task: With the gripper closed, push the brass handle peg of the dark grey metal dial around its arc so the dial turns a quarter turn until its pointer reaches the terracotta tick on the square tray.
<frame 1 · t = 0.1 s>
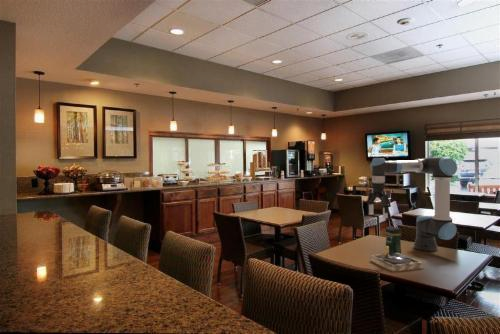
hand: (378, 216, 202), 28 cm above the table, fingers open, 13 cm apart
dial: (395, 252, 195), point 7 cm above the table, hinge at 0.0°
square tray: (395, 264, 195), on the table
coffee jar: (393, 255, 215), on the table
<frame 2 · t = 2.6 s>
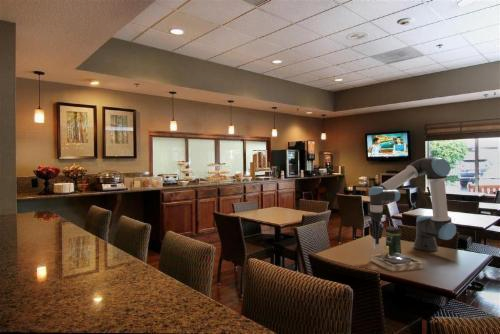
hand: (375, 248, 203), 7 cm above the table, fingers closed
nothing on the table moved.
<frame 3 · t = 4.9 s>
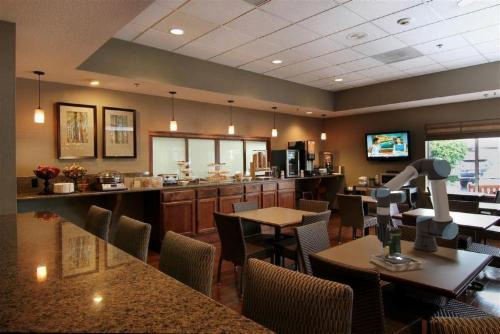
hand: (383, 252, 196), 7 cm above the table, fingers closed
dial: (395, 252, 195), point 7 cm above the table, hinge at 1.7°, touching gripper
everything else where it was.
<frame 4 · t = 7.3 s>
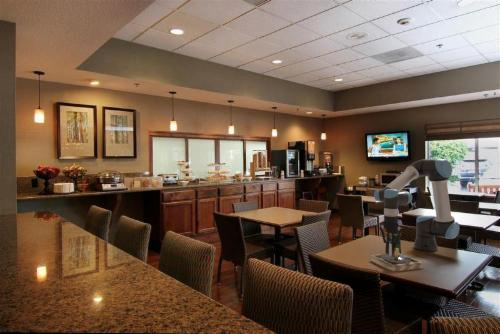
hand: (390, 255, 190), 7 cm above the table, fingers closed
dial: (395, 252, 195), point 7 cm above the table, hinge at 53.6°, touching gripper
everything else where it was.
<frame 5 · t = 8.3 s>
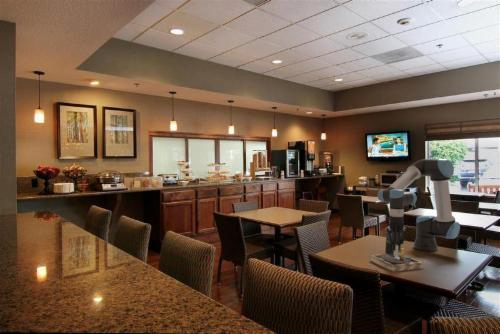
hand: (395, 256, 188), 7 cm above the table, fingers closed
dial: (395, 252, 195), point 7 cm above the table, hinge at 78.4°, touching gripper
everything else where it was.
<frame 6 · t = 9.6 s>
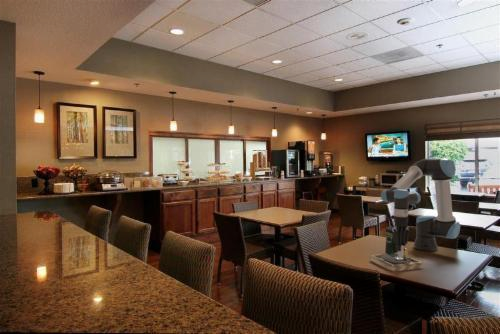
hand: (400, 256, 188), 7 cm above the table, fingers closed
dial: (395, 252, 195), point 7 cm above the table, hinge at 100.1°, touching gripper
everything else where it was.
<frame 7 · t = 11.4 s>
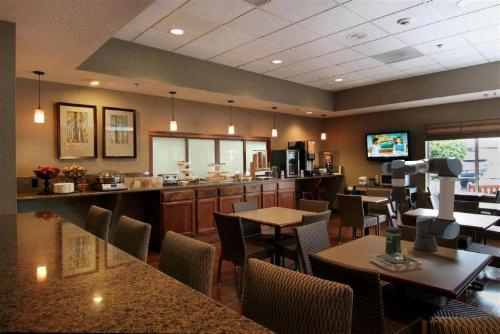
hand: (399, 224, 195), 24 cm above the table, fingers closed
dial: (395, 252, 195), point 7 cm above the table, hinge at 100.1°
everything else where it was.
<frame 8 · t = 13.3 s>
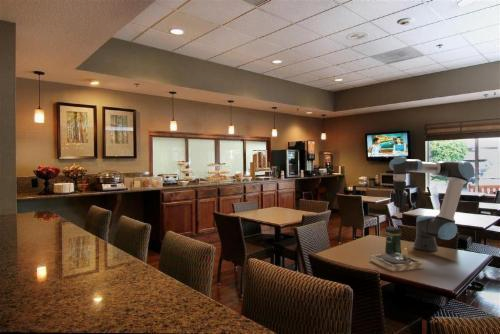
hand: (399, 217, 206), 26 cm above the table, fingers closed
nothing on the table moved.
at the end: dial at +100° (first picture: +0°) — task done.
